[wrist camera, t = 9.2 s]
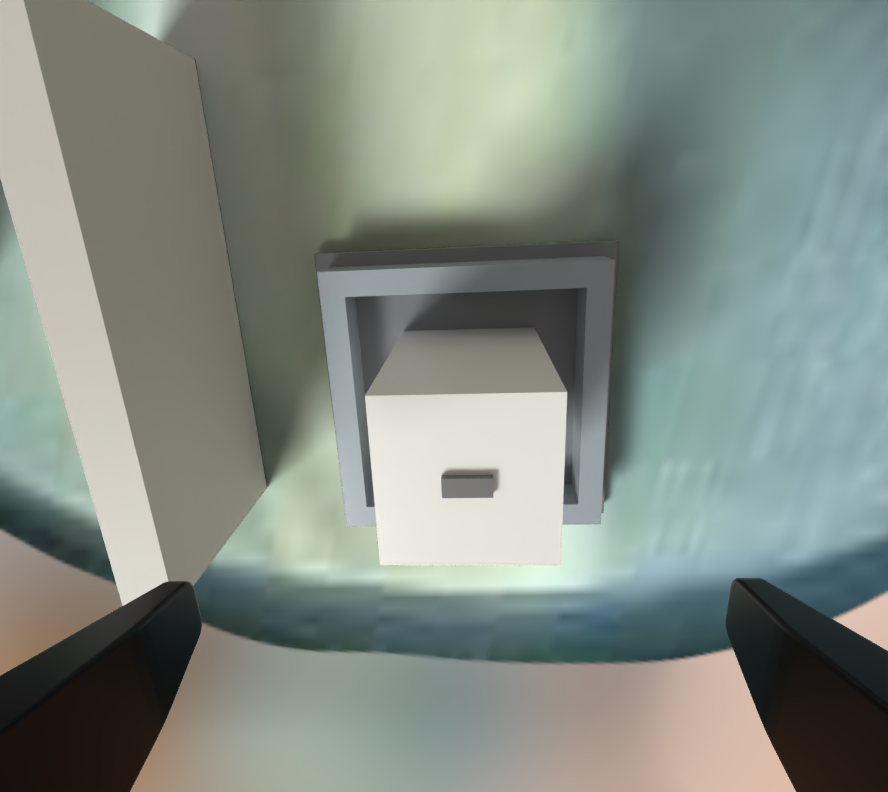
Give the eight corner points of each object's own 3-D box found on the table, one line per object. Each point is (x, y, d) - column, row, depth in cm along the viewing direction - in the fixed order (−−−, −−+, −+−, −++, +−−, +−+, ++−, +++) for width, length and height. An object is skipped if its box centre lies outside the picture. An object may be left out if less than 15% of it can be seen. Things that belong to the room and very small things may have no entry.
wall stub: (194, 59, 17) (14, -39, 10) (266, 488, 22) (175, 609, 15) (148, 62, 17) (-61, -34, 10) (230, 488, 22) (123, 609, 15)
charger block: (534, 327, 18) (568, 394, 12) (532, 447, 20) (562, 570, 13) (403, 330, 19) (363, 398, 12) (411, 449, 20) (378, 570, 13)
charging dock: (614, 240, 18) (631, 243, 16) (600, 506, 21) (612, 535, 19) (318, 253, 19) (300, 257, 17) (348, 508, 22) (336, 537, 20)
